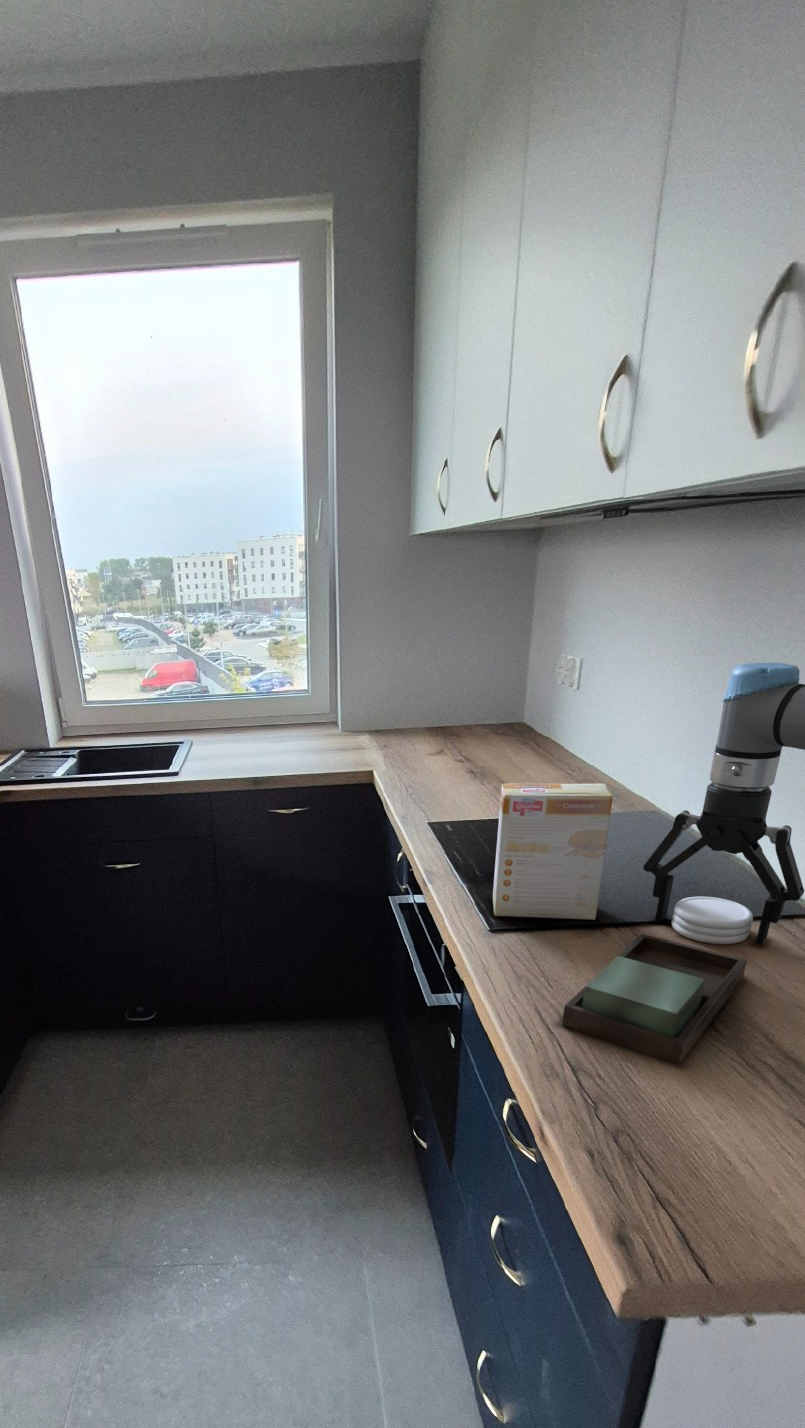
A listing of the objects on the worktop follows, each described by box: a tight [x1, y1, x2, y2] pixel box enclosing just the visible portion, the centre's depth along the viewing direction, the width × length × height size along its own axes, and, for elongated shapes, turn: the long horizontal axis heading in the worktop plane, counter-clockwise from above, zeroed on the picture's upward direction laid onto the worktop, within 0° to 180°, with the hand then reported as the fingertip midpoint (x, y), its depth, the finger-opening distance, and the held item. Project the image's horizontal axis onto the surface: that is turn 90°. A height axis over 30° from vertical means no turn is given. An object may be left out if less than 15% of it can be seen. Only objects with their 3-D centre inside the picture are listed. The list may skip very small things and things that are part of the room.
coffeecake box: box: [492, 783, 614, 921], centre depth 121 cm, size 15×7×20 cm, turn 77°
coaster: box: [670, 896, 754, 945], centre depth 115 cm, size 10×10×4 cm
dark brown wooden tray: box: [561, 933, 748, 1065], centre depth 98 cm, size 13×25×5 cm, turn 137°
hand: (708, 929), depth 116 cm, fingers open, 12 cm apart
